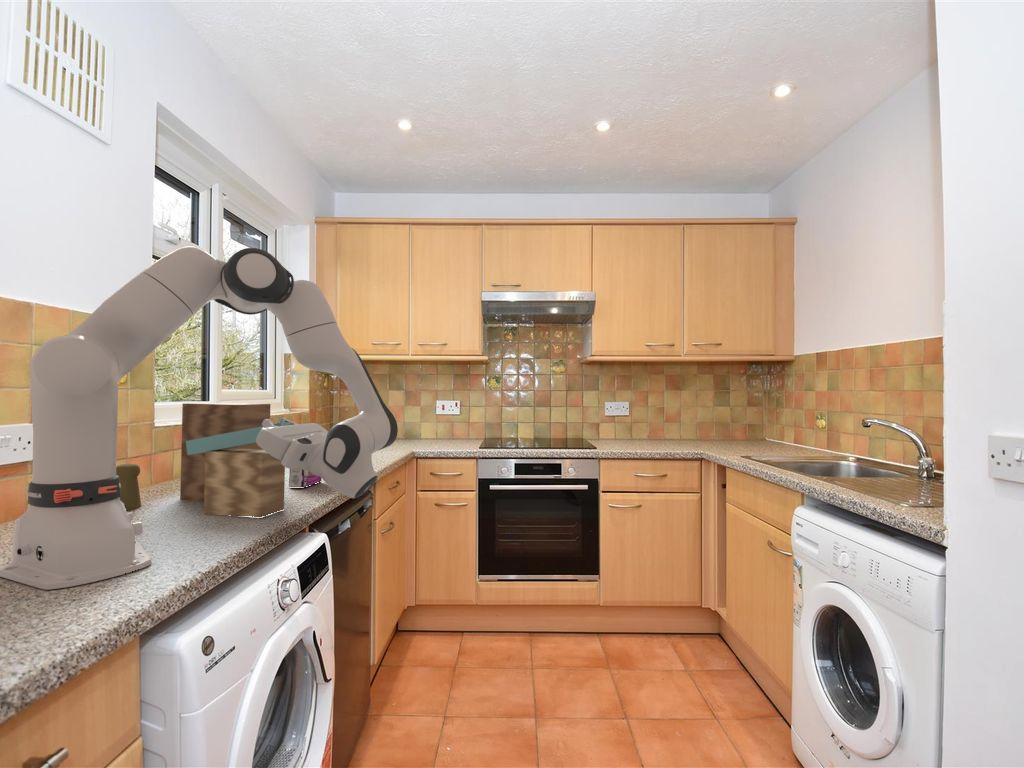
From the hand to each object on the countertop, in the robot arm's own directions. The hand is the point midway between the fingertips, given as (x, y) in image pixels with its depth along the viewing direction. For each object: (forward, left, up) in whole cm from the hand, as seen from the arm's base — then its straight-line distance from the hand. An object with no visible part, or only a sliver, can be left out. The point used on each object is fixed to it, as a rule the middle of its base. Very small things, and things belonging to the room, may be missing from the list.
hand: (272, 420), depth 119 cm
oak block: (+7, +3, -23) cm, 24 cm away
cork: (+34, +18, -23) cm, 45 cm away
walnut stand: (+28, -3, -23) cm, 36 cm away
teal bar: (+8, +4, -6) cm, 11 cm away
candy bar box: (+25, -26, -23) cm, 43 cm away
